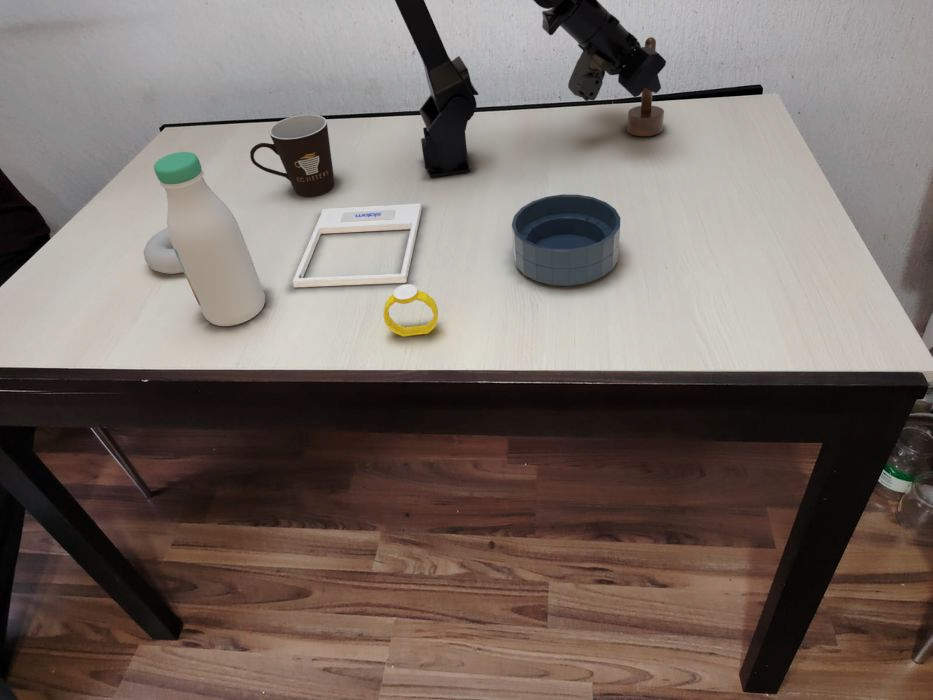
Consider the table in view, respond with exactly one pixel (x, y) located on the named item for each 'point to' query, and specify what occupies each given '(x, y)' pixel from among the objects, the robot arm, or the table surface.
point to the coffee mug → (302, 154)
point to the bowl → (566, 239)
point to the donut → (162, 254)
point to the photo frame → (359, 222)
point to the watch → (405, 296)
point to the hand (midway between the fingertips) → (655, 88)
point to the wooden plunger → (646, 111)
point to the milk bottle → (208, 244)
